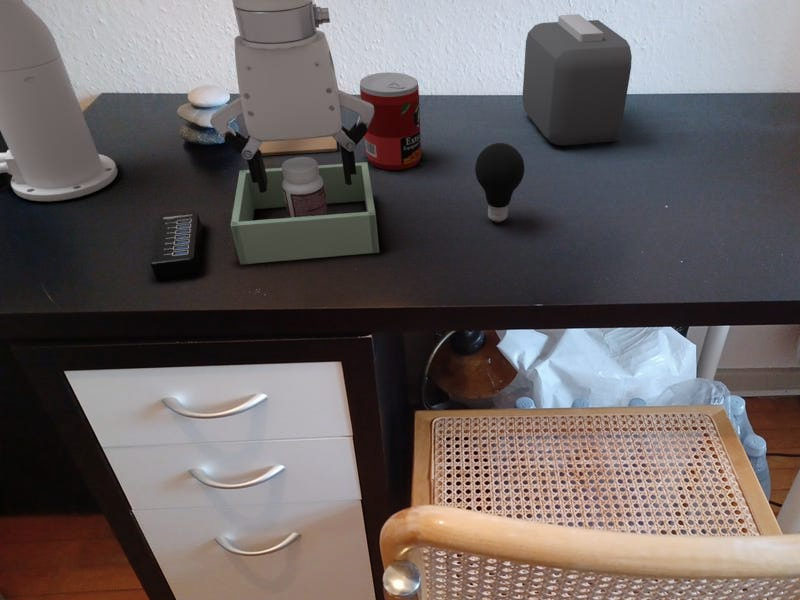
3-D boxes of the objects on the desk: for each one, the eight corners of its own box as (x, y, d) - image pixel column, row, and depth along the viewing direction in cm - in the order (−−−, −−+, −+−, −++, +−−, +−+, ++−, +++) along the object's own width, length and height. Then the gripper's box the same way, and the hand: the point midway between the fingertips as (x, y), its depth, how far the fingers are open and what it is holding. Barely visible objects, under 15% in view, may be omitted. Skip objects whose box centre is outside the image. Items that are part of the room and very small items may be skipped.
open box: (240, 264, 74) (230, 225, 71) (248, 206, 84) (239, 170, 81) (379, 252, 77) (375, 214, 73) (370, 197, 87) (367, 161, 83)
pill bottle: (338, 226, 81) (329, 161, 76) (311, 243, 78) (300, 176, 73) (309, 215, 83) (299, 151, 77) (282, 231, 80) (269, 166, 74)
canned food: (413, 173, 92) (409, 94, 85) (359, 167, 93) (350, 88, 86) (427, 151, 98) (425, 74, 91) (376, 145, 99) (369, 69, 92)
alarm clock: (618, 147, 100) (636, 37, 90) (547, 153, 98) (557, 42, 88) (580, 107, 112) (592, 7, 102) (516, 112, 110) (522, 10, 100)
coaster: (253, 156, 95) (252, 153, 95) (257, 124, 104) (257, 121, 104) (337, 151, 97) (337, 148, 97) (334, 120, 106) (334, 117, 106)
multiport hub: (155, 281, 72) (149, 263, 70) (164, 231, 79) (158, 213, 78) (198, 276, 72) (193, 258, 71) (202, 226, 80) (197, 209, 79)
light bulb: (497, 205, 86) (500, 130, 79) (530, 222, 83) (536, 146, 76) (464, 221, 83) (465, 144, 76) (497, 239, 80) (501, 160, 73)
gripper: (362, 9, 69) (378, 163, 80) (190, 17, 67) (232, 175, 78) (367, 28, 64) (384, 191, 75) (180, 38, 61) (226, 205, 72)
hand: (306, 183), depth 76 cm, fingers open, 9 cm apart
